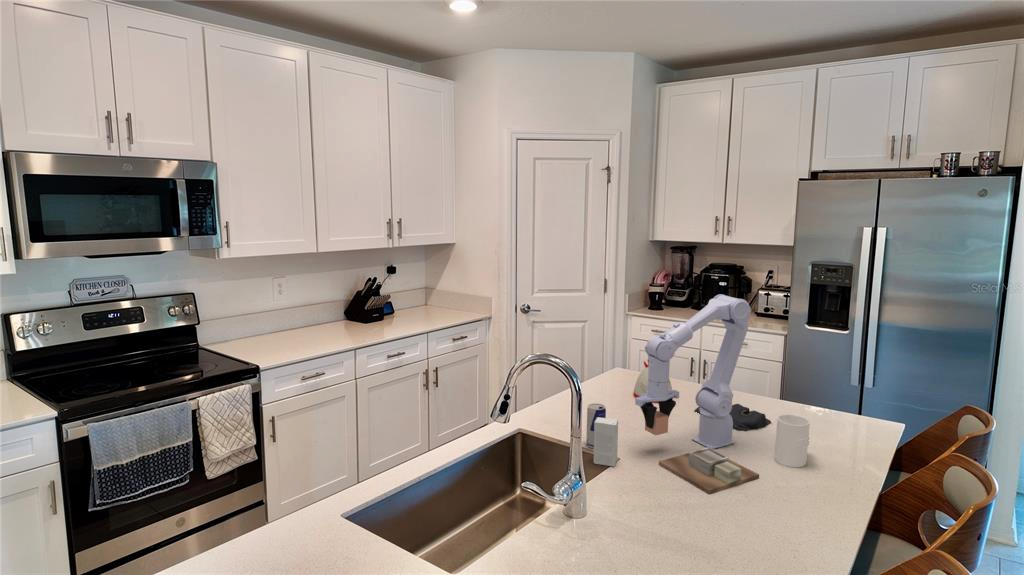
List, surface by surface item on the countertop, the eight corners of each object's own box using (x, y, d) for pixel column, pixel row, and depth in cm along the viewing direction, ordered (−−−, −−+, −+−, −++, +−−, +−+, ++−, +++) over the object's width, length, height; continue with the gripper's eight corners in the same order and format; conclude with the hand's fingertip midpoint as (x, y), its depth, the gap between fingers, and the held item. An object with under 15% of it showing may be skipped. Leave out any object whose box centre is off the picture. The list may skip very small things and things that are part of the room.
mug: (819, 459, 163) (823, 418, 161) (797, 470, 156) (801, 428, 154) (791, 448, 170) (794, 409, 168) (768, 459, 163) (771, 418, 161)
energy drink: (604, 450, 168) (605, 410, 166) (585, 448, 169) (586, 409, 167) (605, 442, 173) (606, 404, 171) (587, 441, 174) (588, 402, 172)
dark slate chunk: (721, 404, 207) (722, 391, 206) (775, 426, 188) (776, 411, 187) (690, 412, 200) (690, 398, 199) (743, 435, 181) (744, 420, 180)
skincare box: (617, 460, 162) (619, 419, 160) (615, 467, 158) (616, 425, 156) (595, 457, 164) (597, 416, 162) (592, 463, 160) (593, 422, 158)
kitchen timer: (665, 406, 204) (667, 364, 202) (627, 398, 211) (629, 358, 209) (677, 395, 215) (679, 355, 213) (641, 388, 223) (643, 350, 221)
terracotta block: (656, 427, 170) (657, 410, 169) (667, 432, 166) (668, 415, 165) (644, 429, 168) (645, 413, 167) (655, 435, 164) (656, 418, 163)
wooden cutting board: (706, 451, 168) (707, 436, 167) (759, 478, 152) (760, 461, 151) (658, 464, 159) (659, 448, 158) (708, 494, 144) (710, 476, 143)
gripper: (667, 372, 171) (665, 416, 173) (628, 379, 164) (627, 425, 167) (685, 379, 165) (683, 424, 167) (645, 386, 158) (643, 434, 160)
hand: (656, 425), depth 166 cm, fingers closed on terracotta block, 4 cm apart
